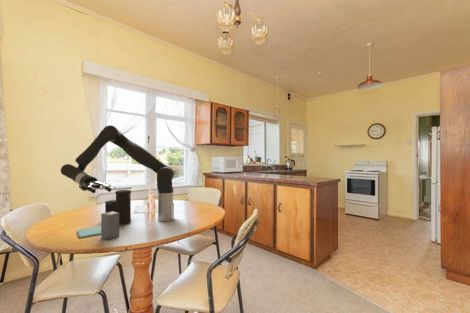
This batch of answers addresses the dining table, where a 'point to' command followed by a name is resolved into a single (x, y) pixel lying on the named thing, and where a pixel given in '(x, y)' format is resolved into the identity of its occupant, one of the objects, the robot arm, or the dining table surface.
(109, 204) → the small box
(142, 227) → the dining table surface
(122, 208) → the container
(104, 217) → the gray rectangular block
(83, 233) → the teal board
